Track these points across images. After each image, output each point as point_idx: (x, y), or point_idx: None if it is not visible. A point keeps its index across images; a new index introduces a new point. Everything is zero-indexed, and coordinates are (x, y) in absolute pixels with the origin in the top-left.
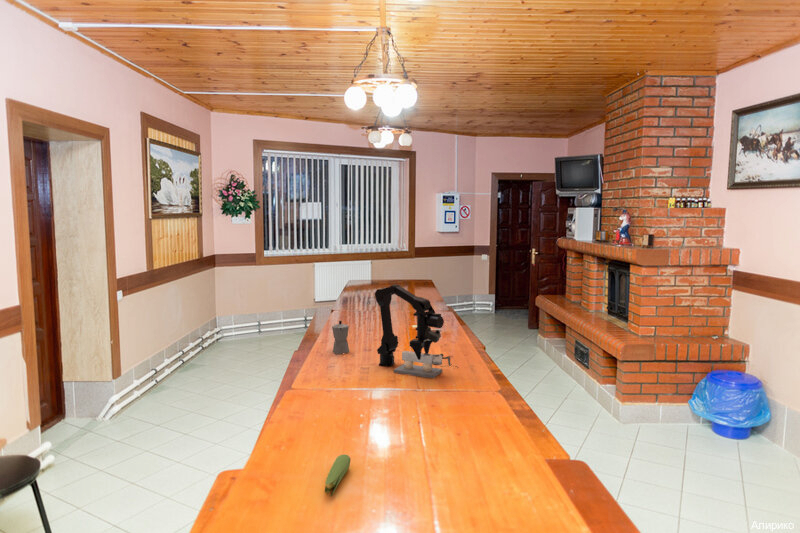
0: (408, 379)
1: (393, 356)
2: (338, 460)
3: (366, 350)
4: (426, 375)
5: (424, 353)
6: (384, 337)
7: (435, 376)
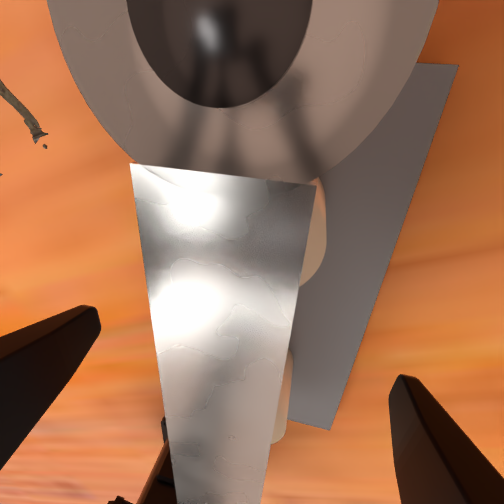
0: (493, 312)
1: (168, 476)
2: None
3: (78, 492)
4: (414, 174)
5: (173, 375)
6: None
7: None
